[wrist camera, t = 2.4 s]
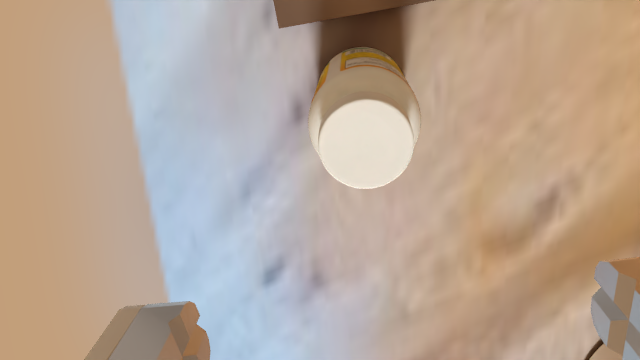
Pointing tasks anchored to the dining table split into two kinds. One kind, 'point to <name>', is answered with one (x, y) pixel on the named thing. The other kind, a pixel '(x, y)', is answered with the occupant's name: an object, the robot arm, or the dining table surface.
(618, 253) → the dining table surface
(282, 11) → the holder board
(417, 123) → the supplement bottle
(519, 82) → the dining table surface
